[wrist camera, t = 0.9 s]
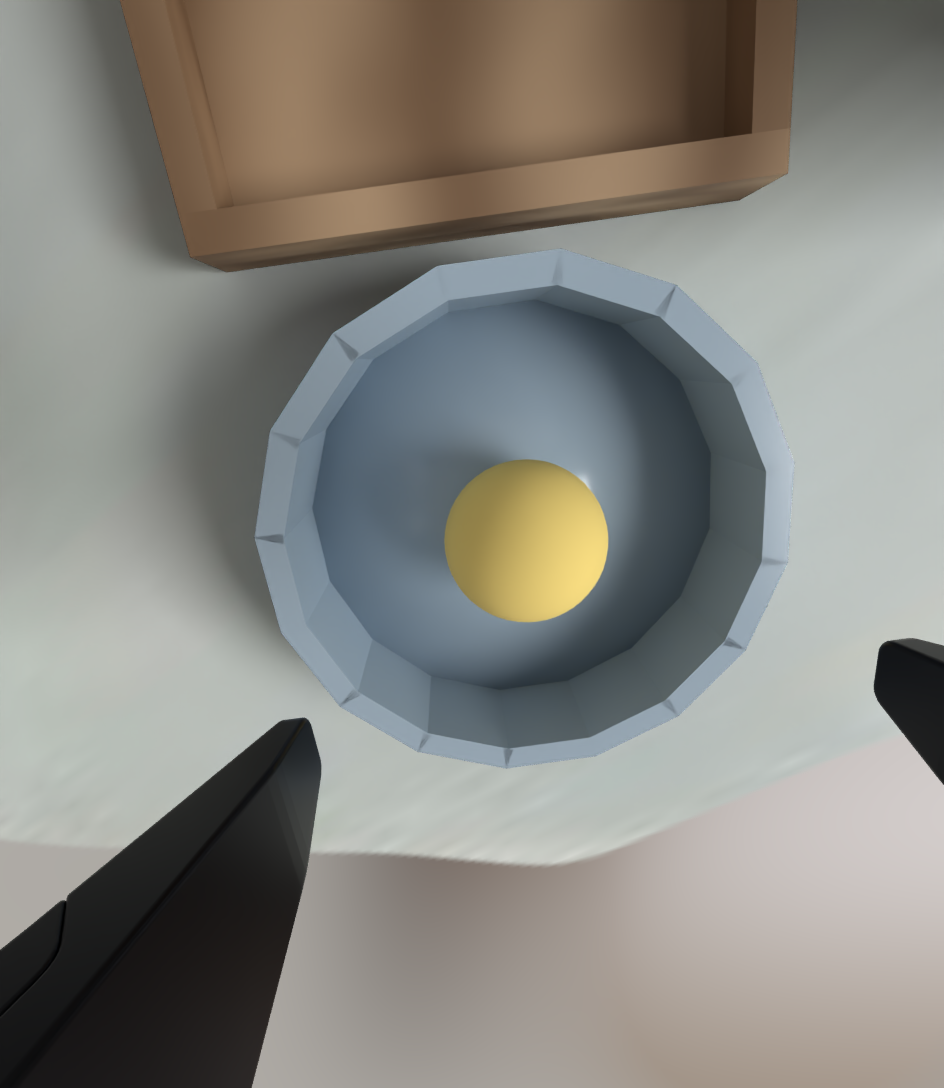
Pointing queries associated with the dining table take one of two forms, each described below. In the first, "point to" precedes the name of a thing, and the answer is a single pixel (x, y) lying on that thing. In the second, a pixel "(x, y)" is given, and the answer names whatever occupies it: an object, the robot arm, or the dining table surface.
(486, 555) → the ball
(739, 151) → the tray
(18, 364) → the dining table surface
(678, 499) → the bowl
